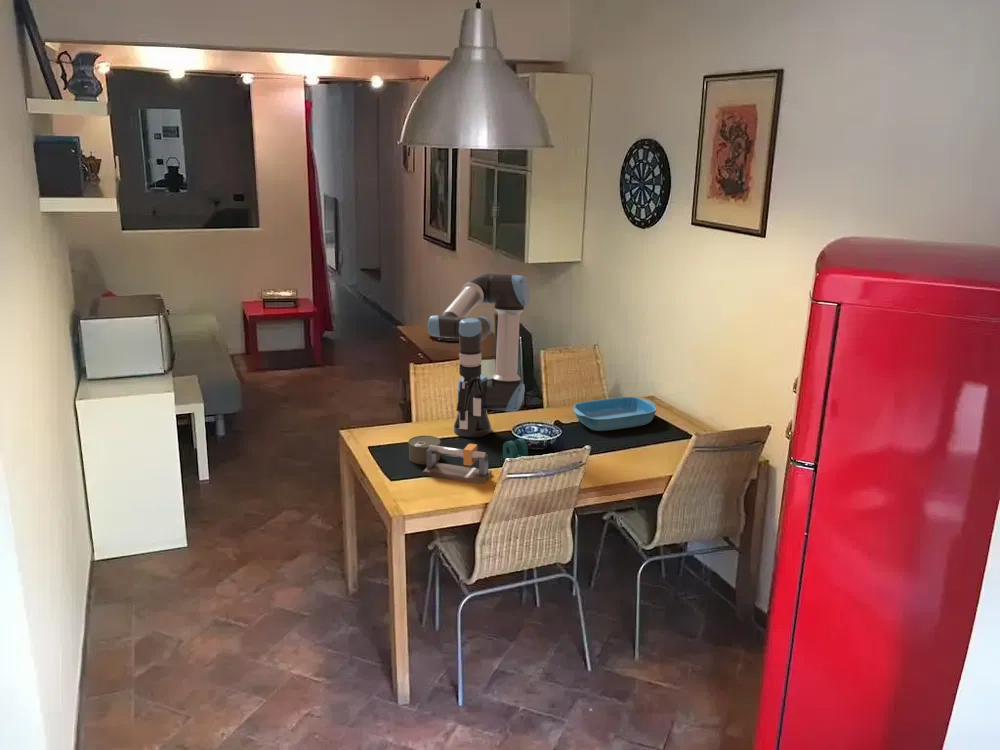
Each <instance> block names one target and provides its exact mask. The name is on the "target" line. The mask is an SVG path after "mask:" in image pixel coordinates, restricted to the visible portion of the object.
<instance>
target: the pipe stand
mask: <svg viewBox="0 0 1000 750" xmlns="http://www.w3.org/2000/svg"><path fill="white" fill-rule="evenodd" d="M463 449H464V448H455V447H449V446H441V445H440V446H435V445H430V446H429V448H428V450H427V451H426V455H427V464H426V468H424V470H422V476H425V477H432V478H433V477H434V478H439V479H445V480H453V481H459V482H467V483H471V484H472V483H473V484H479V485H484V484H485V483H486V482H487V480H488V479H489V478H490V477H491V476H492V475H491V474H493V471H492V470H490V469H489V454H487V452H485V451H478V450H477V451H473V452H472V459H474V460H476V461H478V468H477V467H471V466H465V465H464V466H463V465H457V464H456V465H455V464H450V463H442V462H436V454H439V455H440V456H447V457H455V458H461V459H463Z"/></svg>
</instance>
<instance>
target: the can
mask: <svg viewBox="0 0 1000 750" xmlns="http://www.w3.org/2000/svg"><path fill="white" fill-rule="evenodd" d="M441 442H442V441H441V439H440V438H439V437H437V436H433V435H417V436H414V437H412V438H410V439H409V440H408V443H407V444H408V454H409V455H408V458H409V461H410V462H412V463H414V464H417V465H427V455H426V451H427V450H428V448H429V446H430V445H435V446H441ZM439 460H441V455H439V454H436V463H438V462H439Z"/></svg>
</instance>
